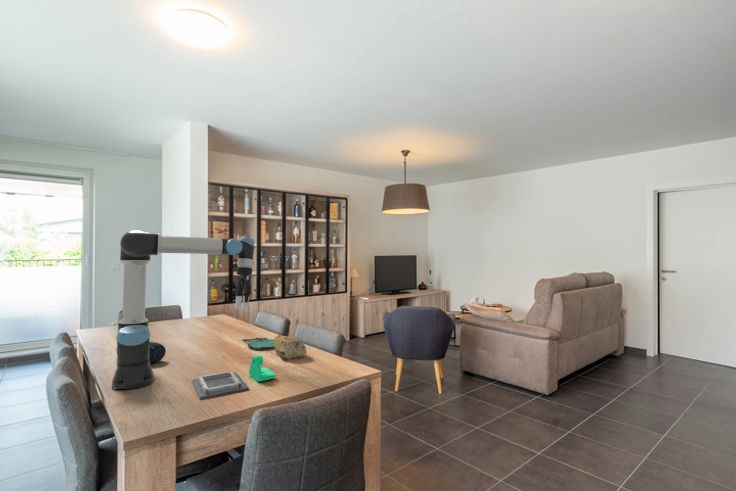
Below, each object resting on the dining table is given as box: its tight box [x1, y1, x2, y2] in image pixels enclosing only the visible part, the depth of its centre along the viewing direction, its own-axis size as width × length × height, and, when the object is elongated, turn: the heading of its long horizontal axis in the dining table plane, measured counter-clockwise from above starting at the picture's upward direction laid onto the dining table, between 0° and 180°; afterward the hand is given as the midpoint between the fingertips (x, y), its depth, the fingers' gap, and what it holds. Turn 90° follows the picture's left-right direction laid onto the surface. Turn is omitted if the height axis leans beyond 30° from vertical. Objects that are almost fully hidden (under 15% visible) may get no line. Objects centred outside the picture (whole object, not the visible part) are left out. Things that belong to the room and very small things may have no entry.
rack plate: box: [191, 370, 249, 400], centre depth 155 cm, size 18×22×2 cm
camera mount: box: [248, 354, 276, 382], centre depth 165 cm, size 12×8×10 cm, turn 37°
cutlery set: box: [242, 337, 274, 350], centre depth 222 cm, size 20×30×2 cm, turn 34°
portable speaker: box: [149, 341, 167, 364], centre depth 189 cm, size 25×10×10 cm, turn 73°
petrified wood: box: [272, 334, 307, 360], centre depth 199 cm, size 19×13×10 cm
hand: (241, 309), depth 191 cm, fingers open, 13 cm apart
